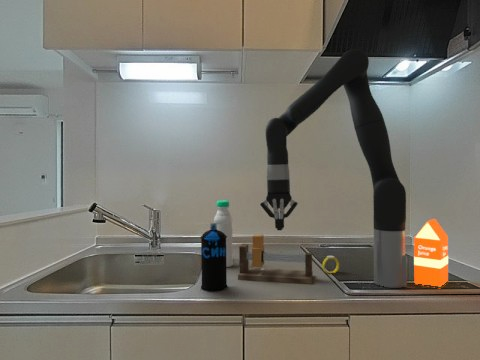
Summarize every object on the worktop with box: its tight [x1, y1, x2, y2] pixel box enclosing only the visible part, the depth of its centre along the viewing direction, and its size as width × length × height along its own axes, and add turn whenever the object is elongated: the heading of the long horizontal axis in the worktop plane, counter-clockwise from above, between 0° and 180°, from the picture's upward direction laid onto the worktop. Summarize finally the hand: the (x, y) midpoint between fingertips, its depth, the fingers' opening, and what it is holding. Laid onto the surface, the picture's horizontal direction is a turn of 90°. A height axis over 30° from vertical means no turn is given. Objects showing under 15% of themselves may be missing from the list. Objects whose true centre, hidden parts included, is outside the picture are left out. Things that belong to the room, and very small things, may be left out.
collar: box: [251, 233, 265, 269], centre depth 128 cm, size 3×6×10 cm, turn 166°
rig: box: [237, 243, 314, 285], centre depth 126 cm, size 24×10×10 cm, turn 76°
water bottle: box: [213, 200, 234, 268], centre depth 143 cm, size 7×7×25 cm
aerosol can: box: [199, 222, 228, 292], centre depth 116 cm, size 8×8×20 cm
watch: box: [321, 255, 340, 274], centre depth 132 cm, size 6×3×6 cm, turn 106°
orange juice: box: [413, 218, 449, 287], centre depth 118 cm, size 8×9×20 cm
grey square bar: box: [246, 250, 306, 263], centre depth 126 cm, size 20×3×3 cm, turn 76°
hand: (279, 230), depth 126 cm, fingers closed
